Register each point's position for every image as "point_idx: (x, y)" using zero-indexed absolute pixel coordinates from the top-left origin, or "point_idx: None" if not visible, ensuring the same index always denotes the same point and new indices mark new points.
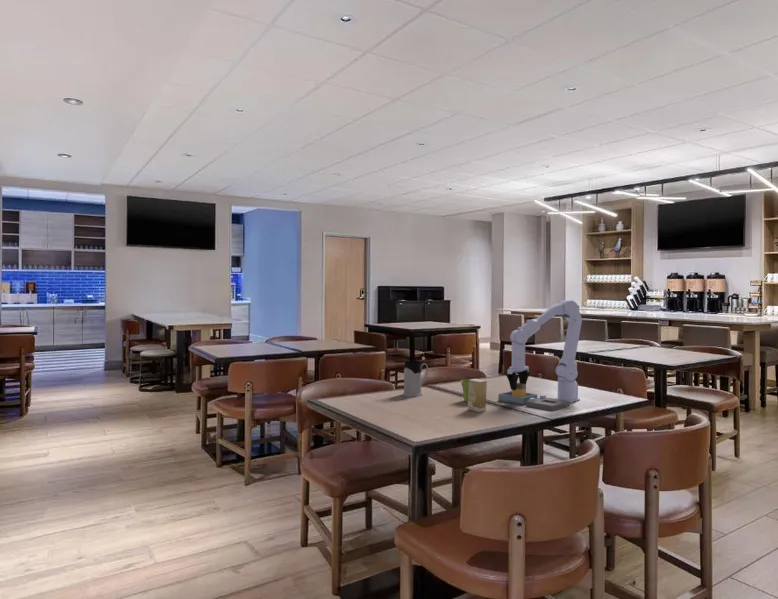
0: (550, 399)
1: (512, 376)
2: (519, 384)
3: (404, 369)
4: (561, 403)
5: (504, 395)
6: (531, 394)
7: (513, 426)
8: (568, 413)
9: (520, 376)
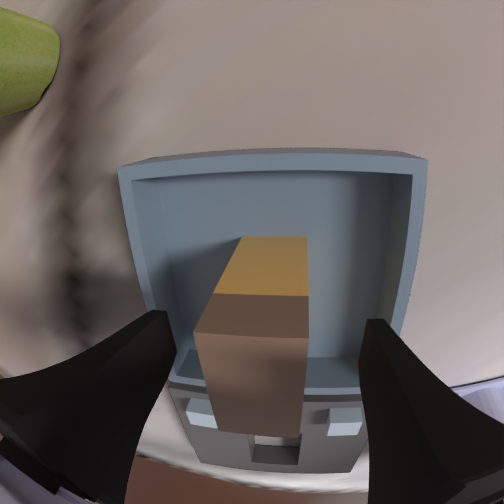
0: (332, 440)
1: (74, 443)
2: (214, 410)
3: None
4: (279, 471)
5: (130, 234)
6: None
7: None
8: (219, 470)
9: (400, 443)
